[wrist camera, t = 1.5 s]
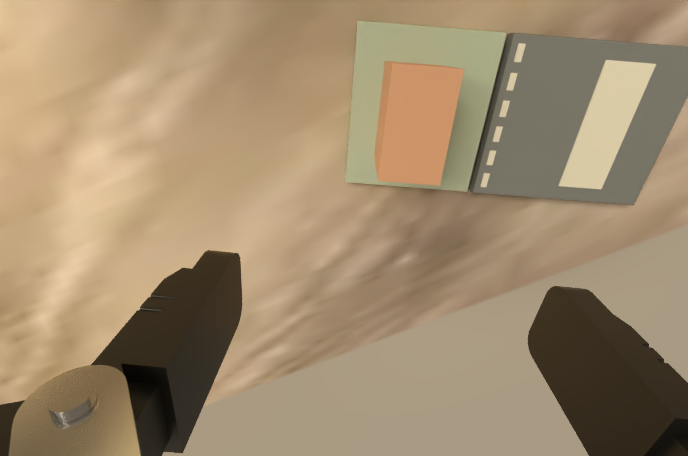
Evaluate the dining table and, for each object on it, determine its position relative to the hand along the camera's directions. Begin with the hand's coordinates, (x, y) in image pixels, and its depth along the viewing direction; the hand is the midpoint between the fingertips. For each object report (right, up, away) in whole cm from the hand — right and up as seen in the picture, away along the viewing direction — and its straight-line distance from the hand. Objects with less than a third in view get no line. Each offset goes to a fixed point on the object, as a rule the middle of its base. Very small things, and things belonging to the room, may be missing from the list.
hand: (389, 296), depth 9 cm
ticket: (+14, +9, +14) cm, 22 cm away
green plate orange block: (+4, +10, +14) cm, 18 cm away
